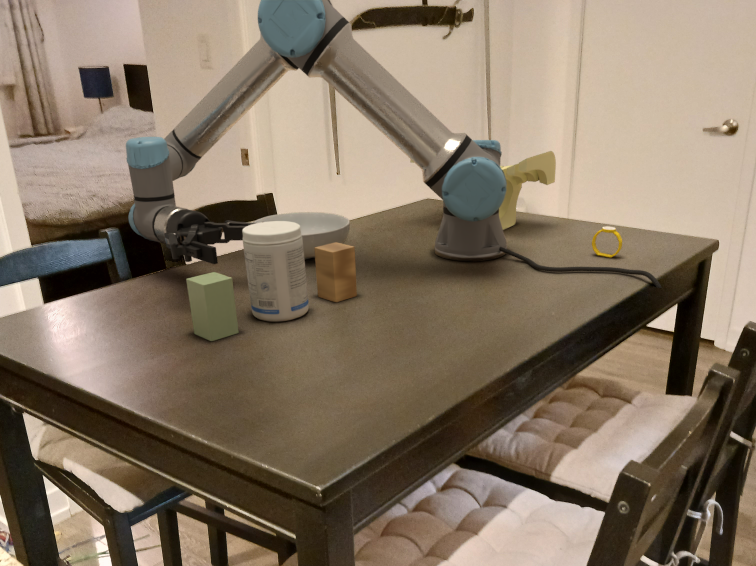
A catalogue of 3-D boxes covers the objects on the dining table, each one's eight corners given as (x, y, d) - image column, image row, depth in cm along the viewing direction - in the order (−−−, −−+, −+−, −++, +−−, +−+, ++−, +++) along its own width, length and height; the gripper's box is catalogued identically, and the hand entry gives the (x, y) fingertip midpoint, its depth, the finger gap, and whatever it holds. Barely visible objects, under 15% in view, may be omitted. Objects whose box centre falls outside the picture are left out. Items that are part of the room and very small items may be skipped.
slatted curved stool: (552, 225, 183) (556, 149, 176) (523, 240, 171) (526, 158, 164) (445, 213, 198) (444, 142, 191) (411, 225, 186) (410, 150, 179)
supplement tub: (299, 301, 134) (292, 217, 128) (317, 317, 126) (310, 229, 120) (244, 310, 130) (234, 224, 124) (259, 327, 122) (250, 236, 116)
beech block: (339, 290, 139) (336, 241, 136) (357, 296, 136) (354, 246, 132) (317, 296, 136) (314, 247, 132) (335, 302, 133) (332, 252, 129)
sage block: (221, 325, 123) (214, 271, 120) (238, 332, 120) (232, 277, 116) (194, 333, 120) (186, 278, 116) (211, 341, 117) (203, 285, 113)
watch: (589, 256, 158) (591, 227, 155) (593, 253, 160) (596, 224, 157) (617, 259, 155) (620, 230, 152) (622, 256, 157) (624, 227, 154)
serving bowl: (234, 262, 158) (230, 229, 155) (285, 239, 176) (282, 209, 173) (323, 271, 151) (320, 237, 148) (367, 246, 169) (366, 214, 166)
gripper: (242, 236, 152) (309, 254, 138) (124, 262, 136) (187, 285, 122) (238, 198, 149) (306, 213, 135) (117, 220, 133) (180, 239, 119)
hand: (249, 247), depth 129 cm, fingers open, 13 cm apart
